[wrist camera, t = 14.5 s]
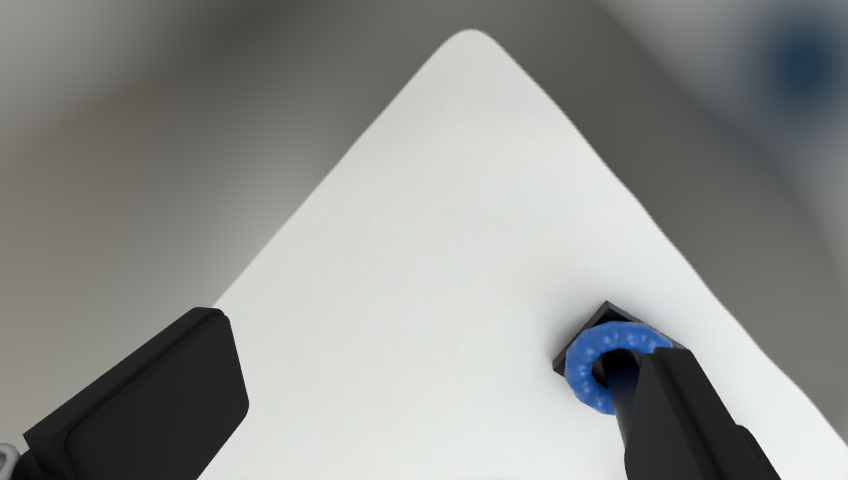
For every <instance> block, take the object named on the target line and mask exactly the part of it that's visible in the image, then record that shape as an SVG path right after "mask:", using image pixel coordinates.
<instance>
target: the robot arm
mask: <svg viewBox="0 0 848 480" xmlns="http://www.w3.org/2000/svg"><path fill="white" fill-rule="evenodd" d="M248 409H249V400H248V396H247V391H246V387H245V383H244V379H243V375H242V371H241V366H240V362H239V358H238V354H237V350H236V346H235V341H234V337H233V333H232V329H231V325H230V321H229V318H228V317H227V316H225V315H224V313H223V312H222V310H220V309H216V308H204V307H195V308H193V309H191V310H190V311H188V312H187V313H185V314H184V315H183V316H181V317H180V318H179V319H177V320H176V321H175V322H173V323H172V324H171V325H169V326H168V327H167V328H165V329H164V330H163V331H161V332H160V333H159V334H157V335H156V336H155V337H153V338H152V339H150V340H149V341H148V342H146V343H145V344H144V345H142V346H141V347H140V348H138V349H137V350H136V351H134V352H133V353H132V354H130V355H129V356H128V357H126V358H125V359H124V360H122V361H121V362H120V363H118V364H117V365H116V366H114V367H113V368H112V369H110V370H109V371H107V372H106V373H105V374H103V375H102V376H101V377H99V378H98V379H97V380H95V381H94V382H93V383H91V384H90V385H89V386H87V387H86V388H85V389H83V390H82V391H80V392H79V393H78V394H77V395H75V396H74V397H73V398H71V399H70V400H68V401H67V402H66V403H64V404H63V405H62V406H60V407H59V408H58V409H56V410H55V411H54V412H52V413H51V414H49V415H48V416H47V417H45V418H44V419H43V420H42V421H40V422H39V423H37V424H36V425H35V426H33V427H32V428H31V429H29V430H28V431H27V432H25V433H24V434H23V436H24V438H25V440H26V442H27V444H28V446H29V448H30V449H29V450H28V451H27V452H25V453H24V454H23V455H20V454H19V452H18V450H17V449H16V447H15V446H14V445H11V444H8V443H0V480H197V479H198V477H199V476H200V475H201V473H202V472H203V471H204V470H205V468H206V467H207V466H208V464H209V463H210V462H211V461H212V459H213V458H214V457H215V455H216V454H217V453H218V452H219V450H220V449H221V448H222V446H223V445H224V444H225V443H226V441H227V440H228V439H229V437H230V436H231V435H232V434H233V432H234V431H235V430H236V428H237V427H238V426H239V425H240V423H241V422H242V421H243V419H244V418H245V416H246V414H247V412H248ZM624 463H625V470H626V475H627V478H628V480H781V478H780V477H779V475H778V474H777V472H776V471H775V469H774V467H773V466H772V464H771V463H770V461H769V460H768V458H767V456H766V455H765V453H764V452H763V450H762V449H761V447H760V446H759V444H758V442H757V441H756V439H755V438H754V436H753V435H752V434H751V433H750V431H749V430H748V429H746V428H745V427H743V426H741V425H736V424H735V422H734V420H733V419H732V417H731V415H730V414H729V412H728V411H727V409H726V407H725V406H724V404H723V402H722V401H721V399H720V397H719V396H718V394H717V392H716V391H715V389H714V388H713V386H712V384H711V383H710V381H709V379H708V378H707V376H706V374H705V373H704V371H703V370H702V368H701V366H700V365H699V363H698V361H697V360H696V358H695V356H694V355H693V353H692V352H691V351H690V350H688V349H682V348H670V347H658V346H657V347H655V349H654V350H653V353H645V354H644V356H643V359H642V364H641V369H640V374H639V379H638V385H637V390H636V395H635V400H634V405H633V411H632V416H631V421H630V426H629V432H628V437H627V442H626V447H625V454H624Z"/></svg>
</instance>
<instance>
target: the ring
mask: <svg viewBox="0 0 848 480" xmlns="http://www.w3.org/2000/svg"><path fill="white" fill-rule="evenodd" d="M657 346H658V347H670V348H674V347H673V345H672V343H671V341H670V340H669V339H668V338H667V337H665V336H663V335H662V334H660V333H658V332H657V331H655V330H653V329H652V328H650V327H648V326H646V325H645V324H642V323H635V322H623V321H609V322H606V323H603V324H600V325H597V326H595V327H592V328H589V329H586V330H585V331H583V332H582V333H581V334H580V336H579V337H578V338H577V339H576V340H575V341H574V342H573V343H572V345H571V346H570V347H569V348H568V350H567V352H566V360H565V369H564V375H565V378H566V380H567V382H568V384H569V385H570V387H571V389H572V391H573V392H574V394H575V396H576V397H577V398H578V399H579V400H580V401H581V402H583V403H585V404H586V405H588V406H590V407H591V408H593V409H595V410H596V411H598V412H600V413H603V414H609V415H616V414H615V410H614V407H613V403H612V399H611V396H610V392H609V388H607V387H605V386H604V385H602V384H600V383H599V382H597V381H596V380H595V378H594V376H593V374H592V365H593V362H594V361H595V360H596V359H597V358H598V357H599V356H600V355H601V354H602V353H605V352H608V351H611V350H614V349H617V348H620V349H630V350H636V351H637V352H639V353H641V354H642V355H644V354H645V353H653V350H654V349H655V347H657Z"/></svg>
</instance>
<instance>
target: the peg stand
mask: <svg viewBox="0 0 848 480" xmlns="http://www.w3.org/2000/svg"><path fill="white" fill-rule="evenodd" d="M609 321H623V322H635V323H642V324H645V323H643V322H642V321H640V320H638V319H637V318H635V317H633V316H632V315H630V314H628V313H627V312H625V311H623V310H622V309H620V308H618V307H616V306H615V305H613V304H611V303H610V302H608V301H606V302H605V303H604V304H603V305H602V307H601V308H600V309H599V310H598V311H597V312H596V313H595V315H594V316H593V317H592V318H591V319H590V320H589V321H588V322H587V324H586V325H585V326H584V327H583V328H582V329H581V330H580V332H579V333H578V334H577V335H576V336H575V337H574V338H573V340H572V341H571V342H570V343H569V344H568V345H567V346H566V347H565V349H564V350H563V351H562V352H561V353H560V354H559V355H558V357H557V358H556V359H555V360H554V361H553V362H552V365H553V370H554V371H555V372H557V373H559V374H560V375H562V376H564V377H565V375H564V369H565V360H566V352H567V350H568V348H569V347H570V346H571V345H572V343H573V342H574V341H575V340H576V339H577V338H578V337H579V336H580V334H581V333H582V332H583V331H585V330H586V329H589V328H592V327H595V326H597V325H600V324H603V323H606V322H609ZM645 325H646V326H648V325H647V324H645ZM648 327H650V326H648ZM650 328H652V327H650ZM652 329H653V328H652ZM653 330H655V329H653ZM655 331H657V330H655ZM657 332H658V333H660V332H659V331H657ZM660 334H662V333H660ZM662 335H663V336H665V335H664V334H662ZM665 337H667V336H665ZM667 338H668V339H669V340H670V341H671V343H672V345H673V347H674V348H682V349H687V348H685V347H684V346H682V345H680V344H679V343H677V342H675V341H674V340H672V339H670V338H669V337H667ZM643 356H644V355H642V354H641V353H639V352H637V351H636V350H630V349H620V348H617V349H614V350H611V351H608V352H605V353H602V354H601V355H600V356H599V357H598V358H597V359H596V360H595V361H594V362H593V365H592V374H593V376H594V378H595V380H596V381H597V382H599V383H600V384H602V385H604V386H605V387H607V388H609V392H610V396H611V399H612V403H613V407H614V410H615V414H616V418H617V421H618V425H619V429H620V432H621V436H622V440H623V443H624V447H626V442H627V437H628V432H629V426H630V421H631V416H632V411H633V405H634V400H635V395H636V390H637V385H638V379H639V374H640V369H641V364H642V359H643Z"/></svg>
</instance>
